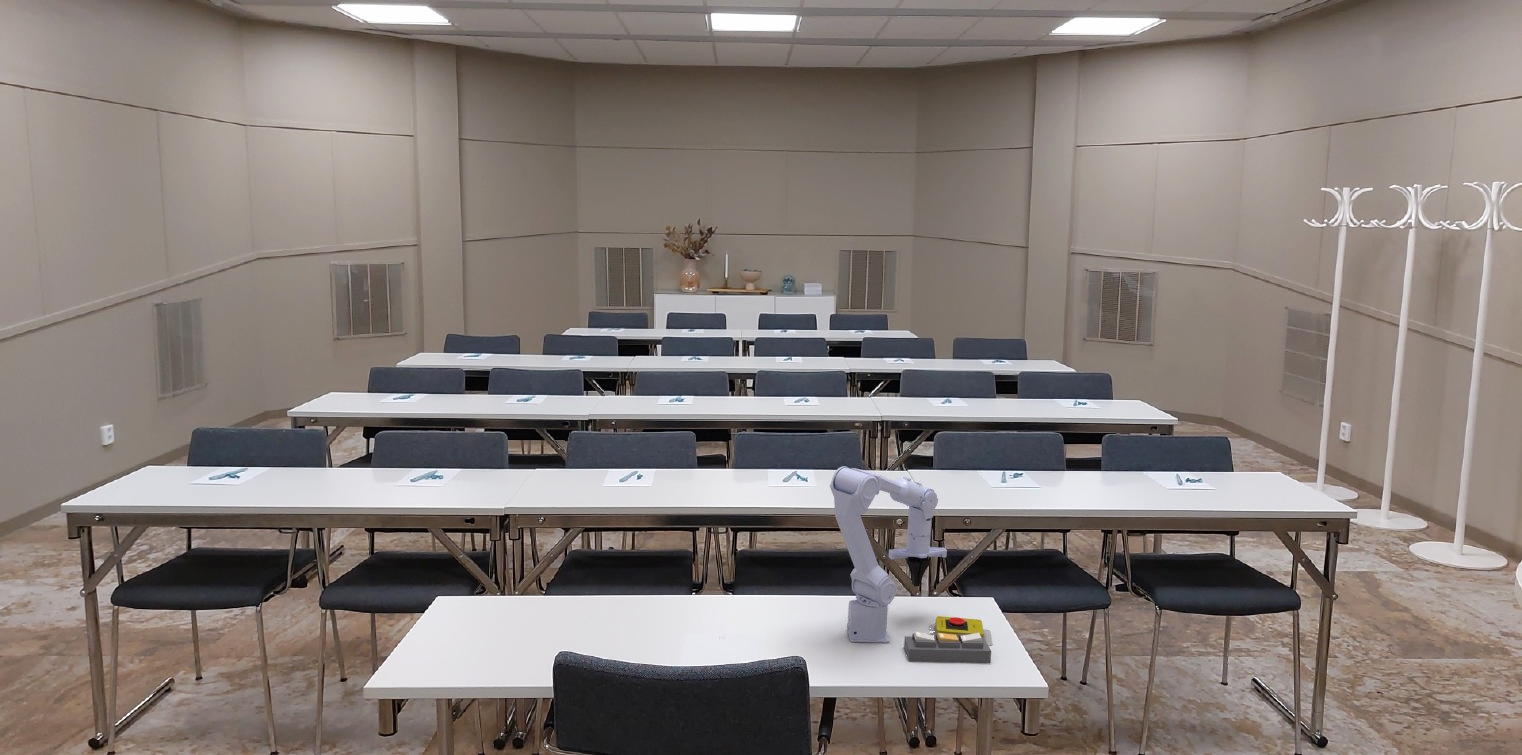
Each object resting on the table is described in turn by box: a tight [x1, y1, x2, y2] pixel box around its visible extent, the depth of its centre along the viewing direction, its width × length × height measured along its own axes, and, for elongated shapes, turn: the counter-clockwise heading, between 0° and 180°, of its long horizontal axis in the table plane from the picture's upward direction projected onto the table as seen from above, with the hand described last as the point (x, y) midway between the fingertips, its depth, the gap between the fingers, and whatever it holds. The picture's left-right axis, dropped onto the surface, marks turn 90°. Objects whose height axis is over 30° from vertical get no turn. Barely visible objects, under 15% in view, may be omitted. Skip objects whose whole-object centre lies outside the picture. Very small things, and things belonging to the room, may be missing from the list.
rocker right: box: [960, 633, 982, 642], centre depth 249 cm, size 4×3×1 cm, turn 91°
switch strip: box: [903, 632, 992, 664], centre depth 249 cm, size 19×7×4 cm, turn 91°
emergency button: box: [928, 615, 993, 647], centre depth 261 cm, size 9×4×15 cm
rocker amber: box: [937, 633, 959, 642], centre depth 249 cm, size 4×3×1 cm, turn 92°
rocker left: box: [913, 630, 935, 641], centre depth 249 cm, size 4×3×1 cm, turn 92°
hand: (915, 584), depth 267 cm, fingers closed
